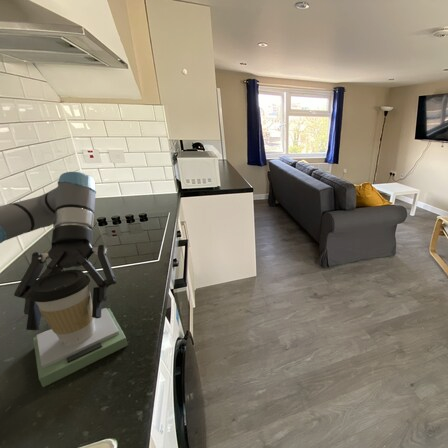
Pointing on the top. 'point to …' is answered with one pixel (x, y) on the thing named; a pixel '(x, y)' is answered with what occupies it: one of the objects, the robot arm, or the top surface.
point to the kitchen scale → (76, 349)
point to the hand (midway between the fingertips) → (65, 323)
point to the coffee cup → (66, 305)
